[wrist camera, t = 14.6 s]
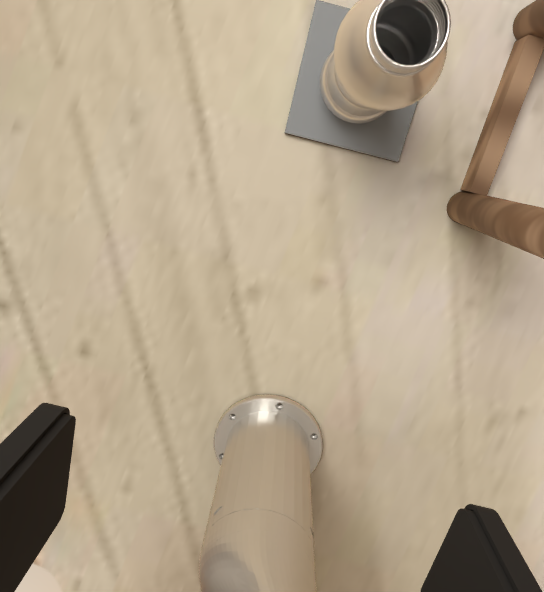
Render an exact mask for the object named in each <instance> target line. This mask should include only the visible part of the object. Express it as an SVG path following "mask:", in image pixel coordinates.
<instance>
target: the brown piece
mask: <svg viewBox="0 0 544 592" xmlns="http://www.w3.org/2000/svg"><path fill="white" fill-rule="evenodd" d="M513 33H514V36H515V38H516V39H517V41H515V43H514V46H513V49H512V51H511V54H510V57H509V59H508V62H507V65H506V68H505V70H504V73H503V76H502V78H501V81H500V84H499V87H498V89H497V92H496V95H495V97H494V100H493V103H492V106H491V108H490V111H489V114H488V116H487V119H486V122H485V125H484V127H483V130H482V133H481V135H480V138H479V141H478V144H477V146H476V149H475V152H474V154H473V157H472V160H471V163H470V165H469V168H468V171H467V173H466V176H465V179H464V181H463V184H462V187H461V190H464V191H462V192H458V193H456V194H455V195H453V196H452V197H451V199H450V200H449V202H448V205H447V213H448V215H449V217H450V218H451V219H452V220H453V221H455V222H458V223H460V224H463V225H465V226H467V227H470V228H472V229H474V230H477V231H479V232H482V233H484V234H486V235H489V236H491V237H493V238H496V239H498V240H501V241H503V242H505V243H508V244H510V245H512V246H515V247H517V248H520V249H522V250H524V251H527V252H529V253H531V254H534V255H536V256H539V257H541V258H543V259H544V208H541V207H536V206H532V205H527V204H522V203H518V202H513V201H509V200H504V199H499V198H495V197H490V196H487V194H488V191H489V189H490V186H491V183H492V181H493V178H494V176H495V173H496V171H497V168H498V165H499V163H500V160H501V158H502V155H503V153H504V150H505V147H506V145H507V142H508V140H509V137H510V135H511V132H512V129H513V127H514V124H515V122H516V119H517V117H518V114H519V111H520V109H521V106H522V104H523V101H524V98H525V96H526V93H527V91H528V88H529V86H530V83H531V80H532V78H533V75H534V73H535V70H536V68H537V65H538V62H539V60H540V57H541V55H542V52H543V50H544V0H536V1H535V2H533V3H531V4H530V5H528V6H527V7H525V8H524V9H522V10H521V11H520V12H519V13H518V15H517V16H516V18H515V20H514V24H513Z"/></svg>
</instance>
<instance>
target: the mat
mask: <svg viewBox="0 0 544 592" xmlns="http://www.w3.org/2000/svg"><path fill="white" fill-rule="evenodd" d="M349 10H350V9H349V8H345V7H341V6H338V5H334V4H330V3H327V2H323V1H319V0H316V3H315V7H314V12H313V16H312V20H311V24H310V28H309V33H308V37H307V41H306V45H305V49H304V54H303V58H302V62H301V66H300V70H299V75H298V79H297V83H296V87H295V91H294V96H293V100H292V104H291V108H290V112H289V117H288V121H287V125H286V129H285V133H287V134H291V135H295V136H299V137H303V138H307V139H310V140H314V141H318V142H322V143H326V144H330V145H334V146H338V147H341V148H345V149H349V150H353V151H357V152H361V153H365V154H368V155H372V156H376V157H380V158H384V159H388V160H392V161H396V162H398V161H399V158H400V155H401V152H402V149H403V146H404V142H405V139H406V136H407V133H408V130H409V127H410V124H411V121H412V117H413V114H414V111H415V108H416V105H417V102H418V101H417V102H415V103H414V104H412V105H410V106H407V107H405V108H402V109H397V110H390V111H386V112H385V113H384V114H383V115H382V116H380V117H379V118H377V119H375V120H373V121H370V122H367V123H350V122H346V121H344V120H342V119H340V118H338V117H337V116H335V115H334V114H333V113H332V112H331V111H330V110H329V109H328V107H327V106H326V104H325V102H324V100H323V97H322V95H321V90H320V75H321V70H322V67H323V65H324V62H325V61H326V59H327V57H328V56H329V54H330V53H331V52H332V51H333V50H334V45H335V40H336V35H337V32H338V29H339V27H340V24H341V22H342V21H343V19H344V17H345V16H346V14H347V13H348V11H349Z"/></svg>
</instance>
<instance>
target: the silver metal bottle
mask: <svg viewBox="0 0 544 592" xmlns="http://www.w3.org/2000/svg"><path fill="white" fill-rule="evenodd" d="M450 27H451V19H450V12H449V9H448V6H447V4H446V2H445V0H360V1H358V2H357V3H356V4H355V5H354V6H353V7H352V8H351V9H350V10H349V11H348V13H347V14H346V16H345V17H344V19H343V21H342V22H341V24H340V27H339V29H338V32H337V35H336V40H335V45H334V50H333V51H332V52H331V53H330V54H329V56H328V57H327V59H326V61H325V62H324V65H323V67H322V70H321V75H320V90H321V95H322V97H323V100H324V102H325V104H326V106H327V107H328V109H329V110H330V111H331V112H332V113H333V114H334V115H335V116H337V117H338V118H340V119H342V120H344V121H346V122H350V123H367V122H370V121H373V120H375V119H377V118H379V117H380V116H382V115H383V114H384V113H385V112H386V111H390V110H397V109H402V108H405V107H407V106H410V105H412V104H414V103H415V102H417V101H418V100H420V99H421V98H423V97H424V96H425V95H426V94H427V93H428V92H429V91H430V90H431V89H432V87H433V86H434V85H435V83H436V82H437V80H438V78H439V76H440V74H441V72H442V70H443V66H444V63H445V59H446V54H447V40H448V37H449V33H450Z"/></svg>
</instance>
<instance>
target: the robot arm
mask: <svg viewBox="0 0 544 592" xmlns="http://www.w3.org/2000/svg"><path fill="white" fill-rule="evenodd" d="M279 403H281V404H279ZM75 422H76V419H75V417H74V416H71V415H70V411H69V409H68V408H65V407H61V406H57V405H53V404H49V403H42V404H41V405H39V406H38V407H37V408H36V409H35V410H34V411H33V412H32V413H31V414H30V415H29V416H28V417H27V418H26V419H25V420H24V421H23V422H22V423H21V424H20V425H19V426H18V427H17V428H16V429H15V430H14V431H13V432H12V433H11V434H10V435H9V436H8V437H7V438H6V439H5V440H4V441H3V442H2V443H1V444H0V592H14V591H15V590H16V588H17V587H18V585H19V584H20V582H21V581H22V579H23V577H24V576H25V574H26V573H27V571H28V570H29V568H30V566H31V565H32V563H33V562H34V560H35V559H36V557H37V556H38V554H39V552H40V551H41V549H42V548H43V546H44V545H45V543H46V541H47V540H48V538H49V537H50V535H51V534H52V532H53V531H54V529H55V527H56V526H57V524H58V523H59V521H60V519H61V517H62V514H63V512H64V508H65V503H66V495H67V487H68V479H69V471H70V463H71V455H72V447H73V438H74V430H75ZM214 450H215V454H216V457H217V459H218V462H219V464H220V465H221V468H220V472H219V476H218V480H217V485H216V489H215V493H214V497H213V502H212V506H211V510H210V514H209V519H208V523H207V527H206V531H205V536H204V540H203V545H202V549H201V553H200V560H199V579H200V585H201V590H202V592H317V590H316V577H315V559H314V540H313V519H312V499H311V479H310V475H311V474H312V473H313V471H314V470H315V469H316V467H317V465H318V463H319V461H320V459H321V454H322V436H321V431H320V428H319V426H318V423H317V422H316V420H315V418H314V417H313V416H312V414H311V413H310V412H309V411H308V410H307V409H306V408H304V407H303V406H302V405H300V404H299V403H297V402H295V401H293V400H291V399H289V398H285V397H282V396H278V395H269V394H266V395H256V396H251V397H247V398H245V399H243V400H240V401H238V402H237V403H235V404H234V405H232V406H231V407H230V408H229V409H228V410H227V411H226V412H225V413H224V414H223V416H222V417H221V419H220V420H219V422H218V425H217V428H216V431H215V436H214ZM421 592H542V590H541V589H540V587H539V585H538V583H537V581H536V580H535V578H534V576H533V574H532V573H531V571H530V569H529V567H528V566H527V564H526V562H525V560H524V559H523V557H522V555H521V553H520V551H519V550H518V548H517V546H516V544H515V543H514V541H513V539H512V537H511V536H510V534H509V532H508V530H507V529H506V527H505V525H504V523H503V521H502V520H501V518H500V516H499V514H498V513H497V512H496V511H495V510H493V509H489V508H485V507H481V506H477V505H473V504H469V505H467V506H466V507H465V509H460V510H458V512H457V514H456V516H455V518H454V520H453V522H452V524H451V526H450V529H449V531H448V533H447V535H446V537H445V539H444V541H443V543H442V546H441V548H440V550H439V552H438V554H437V556H436V558H435V560H434V562H433V565H432V567H431V569H430V571H429V573H428V575H427V577H426V579H425V582H424V584H423V586H422V588H421Z"/></svg>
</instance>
